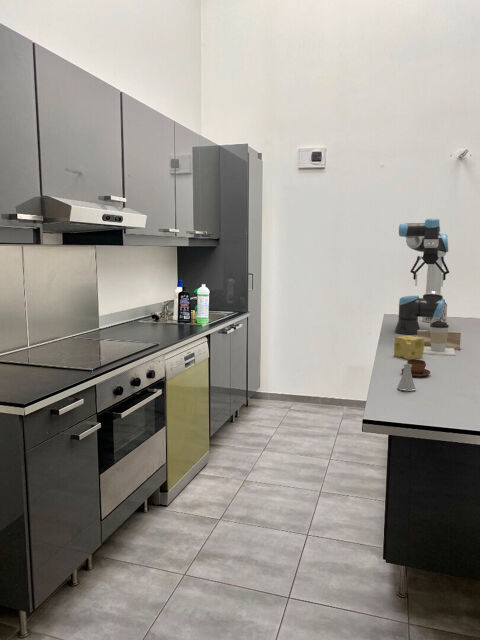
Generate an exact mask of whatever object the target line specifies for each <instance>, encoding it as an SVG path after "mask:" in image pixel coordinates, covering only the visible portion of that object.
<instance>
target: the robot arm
mask: <svg viewBox="0 0 480 640" xmlns="http://www.w3.org/2000/svg"><path fill="white" fill-rule="evenodd" d="M424 221H425V222H420V223H419V222H417V223H415V222H411V223H410V222H405V223H400V224H399V226H398V236H399V237H401V238H402V237H403V238H405V244H406V245H407V247H408V248H410V249H411V250H414V251H416V252H420V253H423V255H422V256H420V255H417V256H416V261H415V263H414V264H413V266H412V268H411V269H410V273H411V274H413V277H412V279H413V281H414V280H415V281H414V282H415V283H414V285H415V286H416V287H417V286H418V272H419V270H420V269H421V268H423V266H424V265H425V264H426V265H427V273H426V285H425V293H424V294H423V295H422V298H421V297H420V295H406V296H405V295H404V296H401V297H400V298H399V302H398V319H397V322H396V323H397V324H396V326H395V328H394V329H395V330H394V332H395V333H396V334H399V335H409V336H412V335H417V330H421V327H420V324H419V318H423V317H433V318H439V317H441V316H442V314H443V310H444V304H445V303H446V299H445V298H444V296H443V294H441V293H442V291H441V289H442V287H444V286H443V285H444V281H446V275H447V274H450V271H449V269H448V266H447V264H446V262H445V256H446V255H447V253H448V252H449V238H448V235H447V233H440V232H441V226H440V225H441V224H440V219H439V218H425V220H424ZM421 260H423V261H422V263H421V264H420V265H419V266H418V263H419V261H421ZM417 266H418V267H417ZM416 267H417V268H416ZM443 267H444V269H443ZM415 268H416V269H415Z"/></svg>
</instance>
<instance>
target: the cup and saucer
mask: <svg viewBox="0 0 480 640" xmlns="http://www.w3.org/2000/svg"><path fill="white" fill-rule="evenodd" d="M426 363H427V362H426V361H425V360H422V359H417V358H415V359H409V360H408V359H407V362H406V364H411V365H412V367H411V375H412V377H415V376H416V378H417V377H418V378H419V377H427V376H428V375H431V371H430V370H429V369H426V367H427V364H426ZM400 371H401V372H402V373H403V372H404V367H403V368H402V369H401V370H400Z"/></svg>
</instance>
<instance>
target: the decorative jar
mask: <svg viewBox="0 0 480 640" xmlns="http://www.w3.org/2000/svg"><path fill="white" fill-rule="evenodd" d="M447 313H448V303H446V302H445V304H444V310H443V314H442V316H441V317H439V318H433V317H422V323H426V324H427V323H428V324H432V323H433V322H436V321H441V322H445V323H447V316H448V314H447Z"/></svg>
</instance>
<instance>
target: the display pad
mask: <svg viewBox="0 0 480 640" xmlns="http://www.w3.org/2000/svg"><path fill="white" fill-rule="evenodd" d="M423 355H436V356H437V355H439V356H452V357H456V350H455V349H454V348H445V351H432V350H431V347H426V346H424V351H423Z"/></svg>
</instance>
